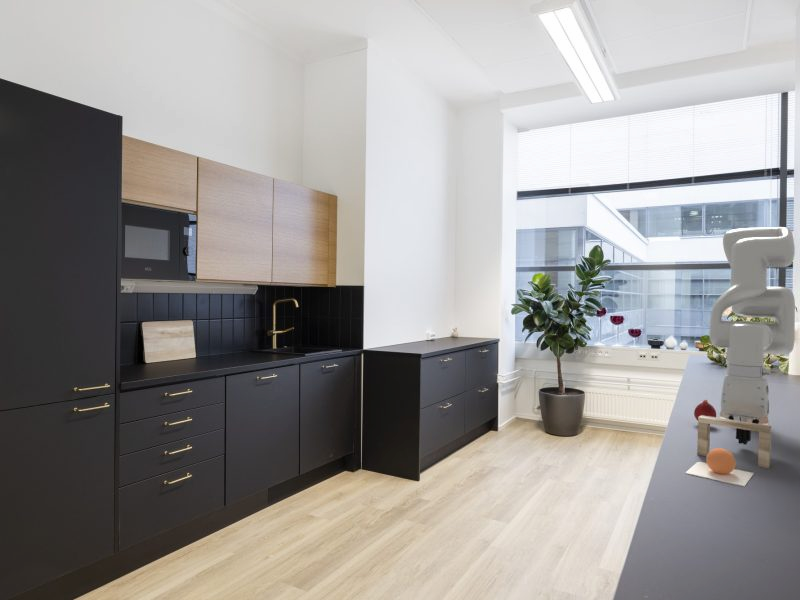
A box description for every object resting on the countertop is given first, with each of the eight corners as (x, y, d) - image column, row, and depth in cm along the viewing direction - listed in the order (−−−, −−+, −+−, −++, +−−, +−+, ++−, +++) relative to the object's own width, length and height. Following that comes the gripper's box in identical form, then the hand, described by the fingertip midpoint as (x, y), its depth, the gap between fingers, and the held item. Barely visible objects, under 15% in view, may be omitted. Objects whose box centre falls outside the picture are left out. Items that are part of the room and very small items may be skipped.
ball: (702, 468, 116) (707, 472, 120) (731, 474, 112) (736, 478, 116) (705, 443, 117) (710, 448, 121) (734, 448, 114) (738, 453, 117)
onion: (719, 429, 157) (719, 402, 157) (697, 427, 158) (698, 400, 158) (711, 424, 162) (712, 398, 162) (691, 423, 163) (691, 397, 163)
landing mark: (697, 462, 124) (697, 461, 124) (753, 473, 117) (753, 473, 117) (685, 473, 116) (685, 472, 116) (744, 486, 109) (744, 485, 109)
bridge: (700, 451, 133) (701, 415, 133) (770, 465, 123) (771, 425, 123) (697, 454, 131) (698, 417, 130) (768, 468, 121) (769, 428, 121)
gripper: (783, 373, 134) (780, 446, 134) (715, 367, 144) (713, 434, 144) (778, 376, 128) (776, 452, 129) (708, 369, 138) (706, 440, 139)
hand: (743, 442), depth 136 cm, fingers closed
